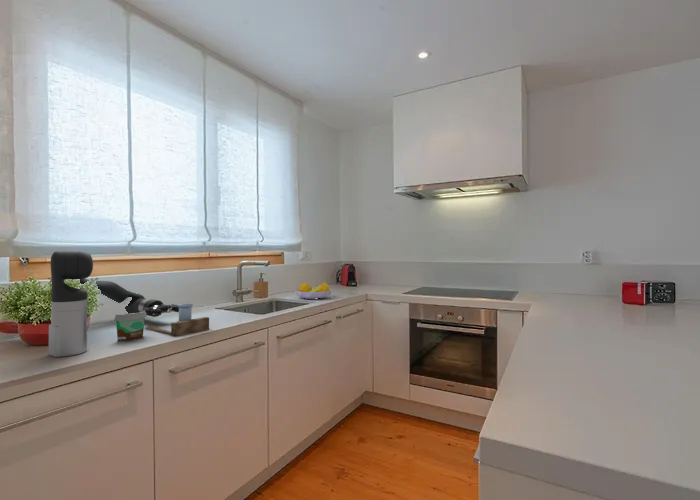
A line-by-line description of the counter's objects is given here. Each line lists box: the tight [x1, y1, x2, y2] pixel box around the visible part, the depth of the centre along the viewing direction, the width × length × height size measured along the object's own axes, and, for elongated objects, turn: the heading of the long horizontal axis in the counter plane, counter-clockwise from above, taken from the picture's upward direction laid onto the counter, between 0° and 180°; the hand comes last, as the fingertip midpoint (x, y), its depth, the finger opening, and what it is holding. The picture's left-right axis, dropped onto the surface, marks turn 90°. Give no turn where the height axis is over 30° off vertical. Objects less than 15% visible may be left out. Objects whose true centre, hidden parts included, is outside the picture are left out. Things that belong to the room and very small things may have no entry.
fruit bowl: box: [294, 280, 333, 300], centre depth 247 cm, size 28×27×11 cm
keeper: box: [177, 303, 193, 321], centre depth 146 cm, size 6×6×11 cm
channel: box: [145, 316, 210, 337], centre depth 149 cm, size 15×22×5 cm
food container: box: [114, 310, 148, 342], centre depth 133 cm, size 12×6×10 cm, turn 168°
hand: (170, 311), depth 152 cm, fingers open, 8 cm apart
